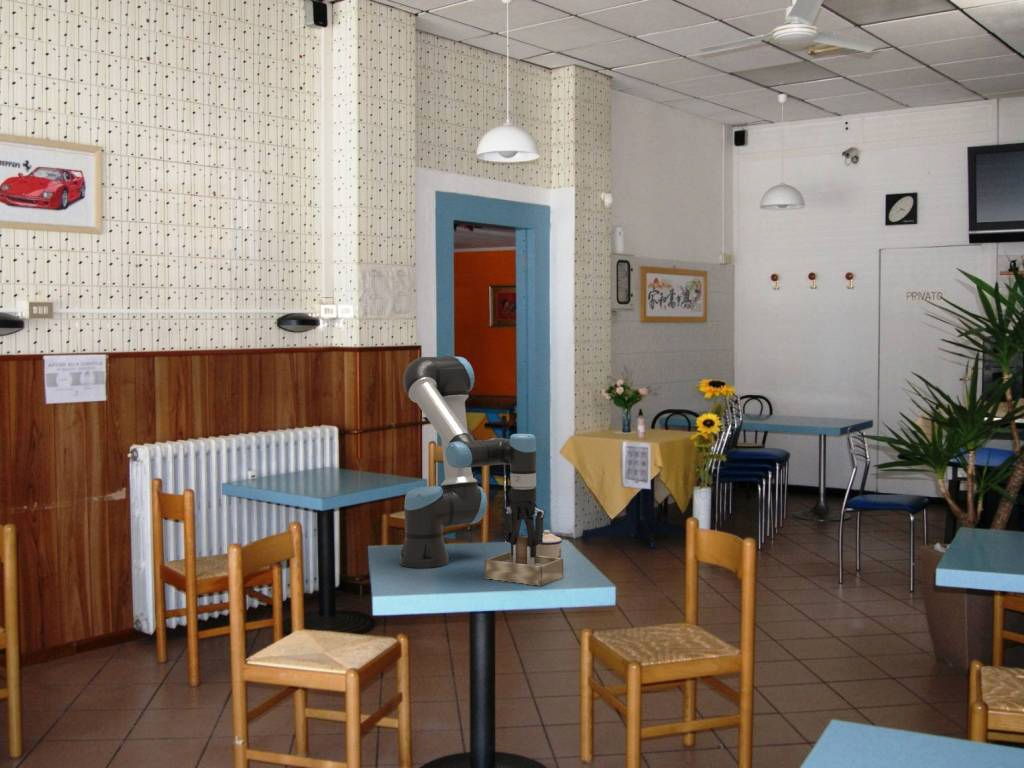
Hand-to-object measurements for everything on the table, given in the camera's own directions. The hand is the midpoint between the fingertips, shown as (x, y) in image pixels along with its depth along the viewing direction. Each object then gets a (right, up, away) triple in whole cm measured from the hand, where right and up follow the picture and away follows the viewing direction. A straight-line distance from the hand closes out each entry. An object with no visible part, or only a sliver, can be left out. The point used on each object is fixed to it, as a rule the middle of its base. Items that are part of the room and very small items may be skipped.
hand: (523, 567), depth 306 cm
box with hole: (0, -3, 0) cm, 3 cm away
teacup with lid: (+7, -3, +14) cm, 16 cm away
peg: (0, -3, 0) cm, 3 cm away
